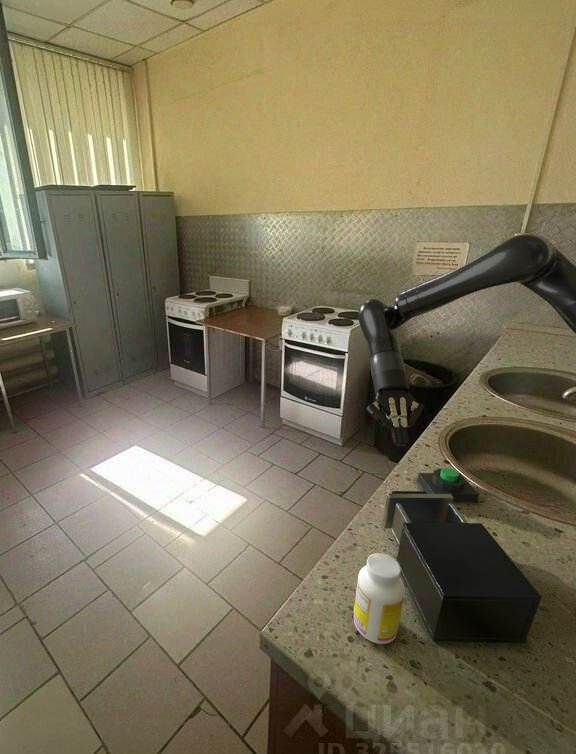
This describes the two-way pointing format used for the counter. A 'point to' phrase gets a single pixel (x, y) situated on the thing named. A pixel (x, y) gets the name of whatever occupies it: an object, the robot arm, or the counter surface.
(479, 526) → the black box
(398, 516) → the rack drawer
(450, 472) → the button
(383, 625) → the supplement bottle
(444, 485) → the control block
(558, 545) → the counter surface
